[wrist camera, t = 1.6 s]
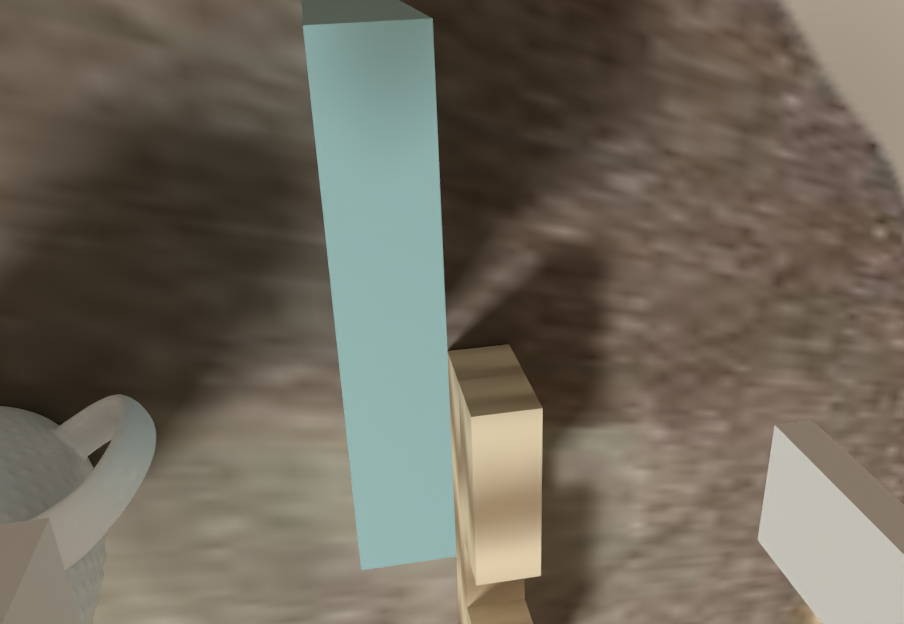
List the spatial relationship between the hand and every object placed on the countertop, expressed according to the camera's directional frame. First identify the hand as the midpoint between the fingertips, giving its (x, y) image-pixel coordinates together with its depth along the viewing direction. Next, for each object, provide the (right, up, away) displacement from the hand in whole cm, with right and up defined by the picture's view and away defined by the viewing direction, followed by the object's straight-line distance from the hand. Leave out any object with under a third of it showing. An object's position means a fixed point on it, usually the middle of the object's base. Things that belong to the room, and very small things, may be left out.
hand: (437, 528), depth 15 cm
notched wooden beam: (+2, -8, +28) cm, 29 cm away
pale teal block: (-4, +9, +20) cm, 22 cm away
